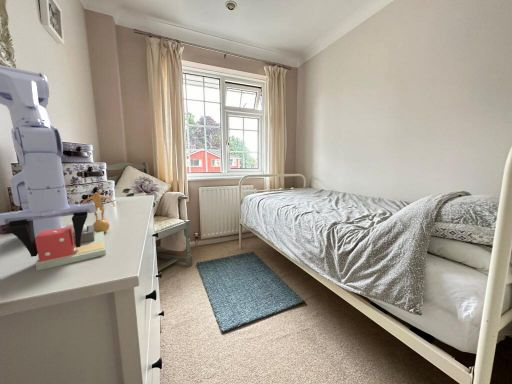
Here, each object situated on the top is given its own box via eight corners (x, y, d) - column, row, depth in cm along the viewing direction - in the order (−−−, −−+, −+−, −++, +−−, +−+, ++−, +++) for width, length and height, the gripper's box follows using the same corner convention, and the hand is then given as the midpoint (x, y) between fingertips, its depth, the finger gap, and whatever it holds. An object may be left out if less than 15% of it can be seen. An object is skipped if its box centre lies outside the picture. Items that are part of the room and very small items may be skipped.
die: (44, 252, 45) (40, 230, 44) (74, 246, 48) (71, 225, 47) (39, 262, 41) (34, 237, 40) (72, 255, 44) (68, 231, 43)
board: (50, 245, 53) (50, 240, 52) (104, 235, 59) (103, 230, 59) (36, 270, 40) (35, 264, 40) (105, 254, 47) (105, 249, 47)
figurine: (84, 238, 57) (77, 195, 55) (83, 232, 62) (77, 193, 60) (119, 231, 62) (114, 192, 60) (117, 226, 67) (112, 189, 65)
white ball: (66, 238, 53) (63, 221, 52) (88, 234, 55) (85, 218, 55) (64, 243, 49) (61, 225, 49) (87, 238, 52) (85, 222, 51)
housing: (60, 239, 53) (59, 230, 53) (94, 233, 57) (93, 225, 57) (56, 248, 48) (54, 238, 47) (94, 241, 52) (93, 231, 51)
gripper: (-19, 194, 35) (-1, 268, 37) (91, 186, 43) (99, 247, 46) (-3, 189, 40) (12, 254, 43) (91, 183, 49) (99, 237, 51)
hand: (57, 250), depth 44 cm, fingers open, 6 cm apart
